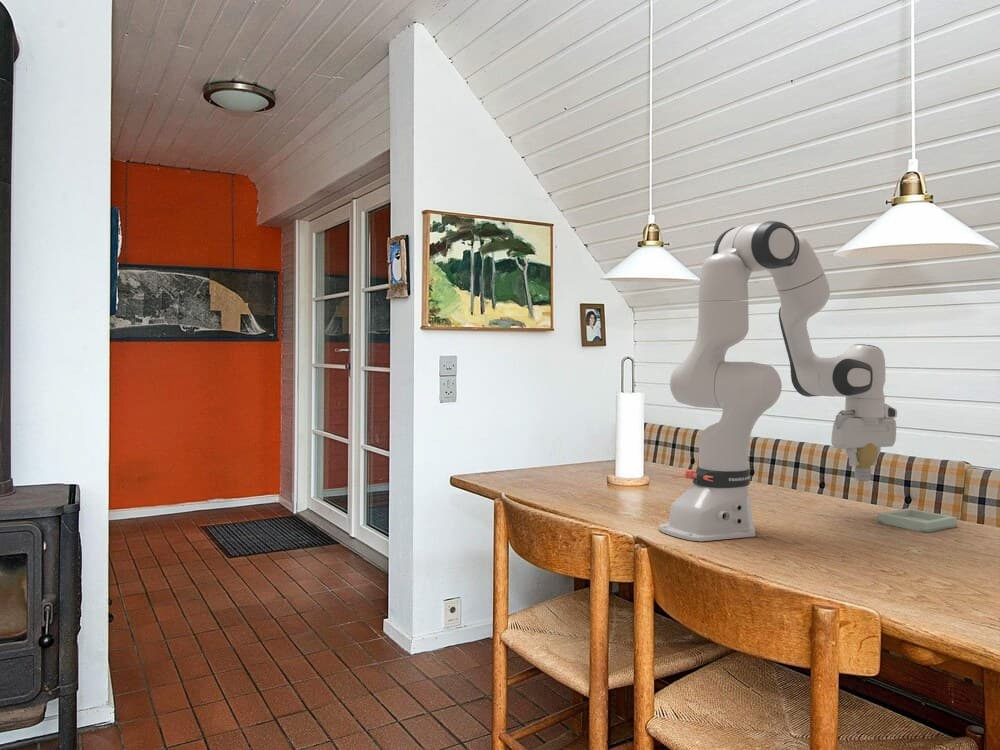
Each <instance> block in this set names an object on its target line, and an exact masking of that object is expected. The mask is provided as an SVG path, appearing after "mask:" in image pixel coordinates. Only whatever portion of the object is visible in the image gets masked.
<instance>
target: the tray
mask: <svg viewBox="0 0 1000 750" xmlns="http://www.w3.org/2000/svg"><path fill="white" fill-rule="evenodd" d="M877 523H878V524H883V525H888V526H893V527H897V528H900V529H901V528H902V529H906V530H911V531H917V532H919V533H925V534H927V533H932V532H937V531H938V532H939V531H941V530H942V531H943V530H947V529H948V530H949V529H952V528H957V527H958V517H957V516H956V517H955V516H951V515H946V514H942V513H936V512H931V511H925V510H920V509H914V508H909V507H907V508H902V509H894V510H891V511H883V512H879V513H878V512H877Z"/></svg>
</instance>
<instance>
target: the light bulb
mask: <svg viewBox="0 0 1000 750" xmlns="http://www.w3.org/2000/svg"><path fill="white" fill-rule="evenodd" d="M877 456H878V451H877V448H876V447H875V445H874V444H872V443H869V444H867V445H866V446H865V447H864V448H857V453H856V457H857V459H859V466H856V467H854V479H855V480H856V481H858V482H869V481H871V480H872V468H871V467H872V466H873V465H872V464H873V463H874V462H875V461H876V459H877V460H878V458H877ZM878 457H879V456H878Z"/></svg>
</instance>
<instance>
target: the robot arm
mask: <svg viewBox="0 0 1000 750" xmlns="http://www.w3.org/2000/svg"><path fill="white" fill-rule="evenodd" d="M765 270H767V272H769V273H770V274H771V277H772V279H773V282H774V285H775V288H776V290H777V292H778V296H779V300H780V301H779V302H780V307H779V308H778V321H779V326H780V329H781V333H782V334H781V335H782V338H783V342H784V345H785V351H786V353H787V357H788V361H789V366H790V367H789V368H790V378H791V379H790V380H791V383H792V386H793V388H794V390H795V391H796V392H798V393H799V395H801V396H803V397H808V398H809V397H810V398H811V397H831V398H832V397H834V398H835V397H840V398H841V397H844V398H845V400H844V401H845V406H844V407H845V409H844V410H840V411H839V412H838V413H837V414H836V415H835V420H834V422H833V426H832V430H831V431H832V432H831V441H830V443H831V445H832V447H833V448H834V449H843V450H844V449H845V454H846V455H847V458H848V465H849V466H850V467H854V468H855V467H856V466H859V459H857V457H856V453H857V448H864V447H865V446H866V445H867V444H869V443H872V444H874V445H875V447H876V448H877V451H878V456H877V459H876V461H875V462H874V463H873V464H872V465H871V466H877V465H878V457H879V455H880V453H881V451H882V449H881V448H889V447H891V448H892V447H893V446H895V443H896V441H897V440H896V439H897V422H896V418H897V416H898V410H897V409H896V408H894V407H892V406H890V405H888V404H887V403H885V401H886V400H885V399H886V398H885V393H884V386H885V383H886V360H885V359H886V357H885V355H884V351H883V349H882V348H880V347H879V346H875V345H872V344H865V343H859V344H858V343H856V344H852V345H850V347H849V349H848V350H846V352H844V353H842V354H839V355H837V356H836V357H835V356H834V357H820V356H818V355H817V354H816V353H814V351H813V347H812V343H811V340H810V335H809V332H808V327H807V325H808V324H807V323H808V320H809V319H810V318H812V317H813V316H814V315H816V314H818V313H819V312H820V311H821V310H823V308H824V307H826V305H827V303H828V300H829V298H830V295H831V292H830V286H829V285H830V284H829V282H828V278H827V277H826V274H825V272H824V269H823V267H822V264H821V262H820V260H819V258H818V256H817V254H816V252H815V251H814V249H813V247H812V246H811V245H810V243H809V241H808V240H807V239H806V238H805V237H804V236H801V235H799V234H798V235H796V233H795V231H794V229H792V228H791V227H790V226H789V225H788V224H787V223H784V222H782V221H775V220H768V221H765V222H756V223H755V222H752V223H751V222H750V223H747V224H746V223H745V224H743V225H740V226H736V227H735V226H734V227H731V228H729V229H727V230H726V231H724V232H723V233H721V234H720V235H719V237H717V239H716V241H715V243H714V246H713V252H712V254H711V255H710V256H709V257H707V258H706V259H705V260H704V262H703V263H702V266H701V271H700V277H699V285H698V286H699V287H698V321H697V322H698V323H697V333H696V338H695V339H696V340H695V341H694V342H695V343H694V345H693V348H692V350H691V351H690V353H689V354H688V356H687V357H686V358H685V359H684V360H683V361H682V362H681V363H680V364H678V365H677V366H676V367H675V368H674V370H673V371H672V374H671V376H670V381H669V386H670V393H671V395H672V396H673V398H674V399H675V400H676V402H677V403H679V404H683V405H686V406H690V407H695V408H705V409H707V408H708V409H721V410H722V414H721V418H720V420H719V421H718V422H715V423H714V424H711V425H709V426H707V427H706V428H704V429H703V430H702V431H701V433H700V435H699V438H698V466H697V468H696V470H695V471H694V470H691V469H686V470H685V472H684V477H685V479H691V480H692V484H691V485H690V487H689V488H687V489H686V490H685V491H684V492H683V493H682V494H681V495H680V496H679V497H678V498H677V499H675V500H674V502H672V504H671V506H670V511H669V519H668V522H666V523H662V524H659V525H658V530H659V531H660V532H662V533H664V534H667V535H668V536H672V537H675V538H679V539H683V540H688V541H695V542H708V541H720V540H729V539H739V538H740V539H741V538H752V537H756V528H755V525H754V520H753V512H752V511H753V510H752V503H751V496H750V492H749V485H750V483H751V473H750V472H751V469H750V468H749V449H750V440H751V434H752V432H753V429H754V426H755V424H756V422H757V421H758V419H759V418H760V417H761V416H762V415H763V414H764V413H765V412H766V411H767V410H768V409H770V408H772V407H773V406H774V405H775V404H776V403H777V402H778V400H779V398H780V397H781V393H782V380H781V376H780V375H779V373H778V370H777V369H775V367H774V366H772V365H768V364H764V363H759V362H754V361H726V360H725V358H726V354H727V352H728V350H729V348H731V347H733V346H735V345H737V344H739V343H740V342H741V341H743V340H744V339H745V338H746V337H747V335H748V333H749V329H750V328H749V286H748V285H749V284H748V283H749V279H750V276H751V274H752V273H755V272H761V271H765Z"/></svg>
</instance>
